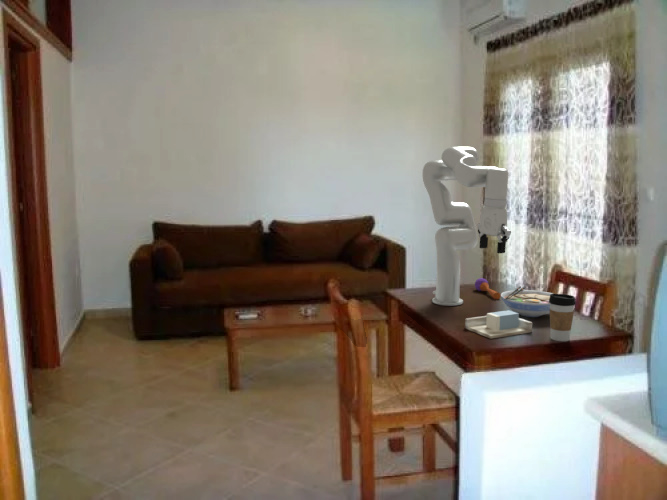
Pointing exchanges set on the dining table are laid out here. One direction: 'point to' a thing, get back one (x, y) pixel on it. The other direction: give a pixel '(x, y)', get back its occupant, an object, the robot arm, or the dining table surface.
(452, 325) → the dining table surface
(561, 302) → the coffee cup
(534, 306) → the ramen bowl
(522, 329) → the beige tray
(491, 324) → the light blue white block
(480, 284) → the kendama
